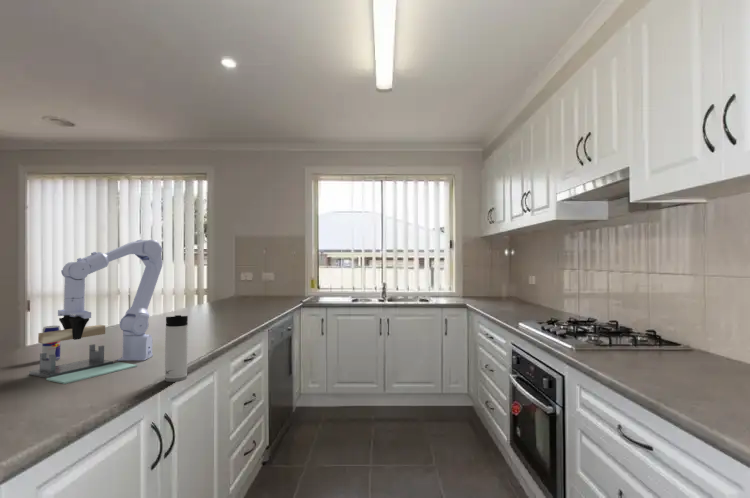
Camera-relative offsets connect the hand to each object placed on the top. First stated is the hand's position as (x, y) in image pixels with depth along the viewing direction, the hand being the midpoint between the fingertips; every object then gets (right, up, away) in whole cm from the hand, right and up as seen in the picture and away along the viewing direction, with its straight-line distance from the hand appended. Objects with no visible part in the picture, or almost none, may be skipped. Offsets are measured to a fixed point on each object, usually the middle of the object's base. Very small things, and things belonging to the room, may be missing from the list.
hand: (73, 338), depth 152 cm
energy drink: (-16, -10, +12) cm, 23 cm away
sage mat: (+10, -10, -5) cm, 15 cm away
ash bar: (0, 0, 0) cm, 0 cm away
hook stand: (0, -10, 0) cm, 10 cm away
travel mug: (+39, -10, -12) cm, 42 cm away
